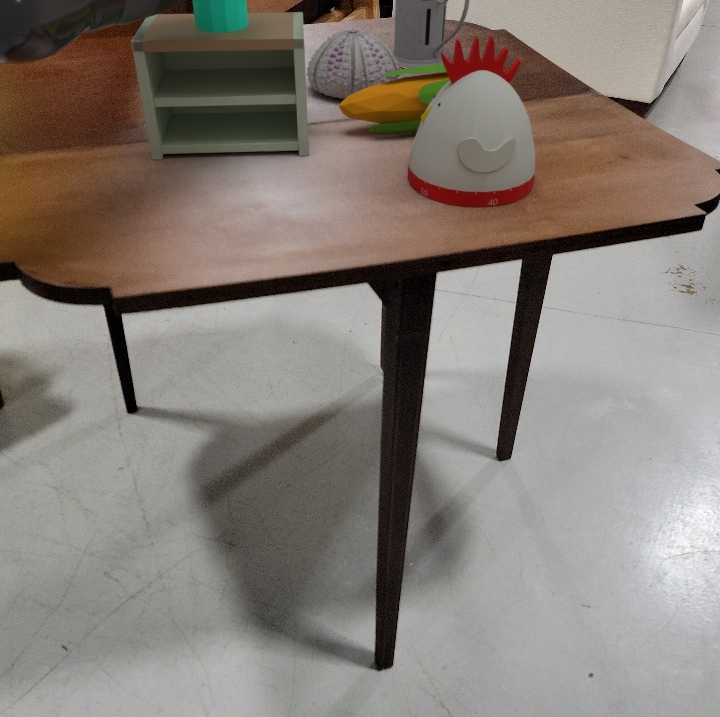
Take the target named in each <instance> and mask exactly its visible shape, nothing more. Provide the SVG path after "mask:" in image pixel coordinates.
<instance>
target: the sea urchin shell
mask: <svg viewBox="0 0 720 717" xmlns="http://www.w3.org/2000/svg"><path fill="white" fill-rule="evenodd" d="M398 64H399V63H398V62H397V60H396V58H395V57H394V51H393V52H392V50H391V47H390V46H388V45H387V44H386V42H385V41H383V40H381V39H380V37H377V36H375V35H374V34H372V33H370V32H368V31H364V30H359V29H350V30H341V31H338V32H336V33H335V34H334V33H333V34H332V35H331V36H330V37H329V36H328V37H327V39H326V40H325V41H324V42H322V44H320V47H318V49H316V50H315V52H314V54H313V55H312V56H311V59H310V60H309V61H308V66H307V67H306V77H307V81H308V82H309V86H310V87H312V88H313V90H314V91H317V92H318V93H319V94H324V96H327V97H328V96H329V97H331V98H338V99H340V100H344V99H345V98H346V97H347V96H349V95H351V94H353V93H356V92H358V91H360V90H362V89H365V88H367V87H369V86H373V85H377V84H381V83H385V82H388V81H392V80H396V79H399V77H400V76H401V75H395V76H383V75H382V74H385V73H389V72H393V71H396V70H400V69H401V68H399V67H398Z"/></svg>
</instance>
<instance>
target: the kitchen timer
mask: <svg viewBox="0 0 720 717" xmlns="http://www.w3.org/2000/svg"><path fill="white" fill-rule="evenodd" d="M508 55H509V49H508V47H506V46H504V47H503V48H502V49H501V50H500V52H499V54H497V57H495V39H494V37H493V36H492V35H489V37H488V39H487V42H486V46H485V49H484V52H483V55H482V57H481V55H480V40H479V37H478V36H477V35H475V36H474V38H473V41H472V45H471V47H470V52H469V55H468V58H466V59H465V55H464V52H463V47H462V44H461V41H460V40H459V38H456V39H455V42H454V51H453V59H452V60H450V61H449V60H448V58H447V57H446V56H445V54H444V52H443V53H442V52H441V58H442V61H443V64H444V67H445V69H446V71H447V74H448V76H449V79H450V81H449V82H448V83H447V84H446V85H445V86H443V87H442V89H441V90H440V91H439V92H438V93H437V94H436V95H435V96H434V98H433V100H432V101H431V103H430V104H429V106H428V107H427V109H426V111H425V113H424V114H423V115H422V116H421V117H420V118H421V123H420V125H419V128H418V131H417V133H415V137H414V140H413V142H412V145H411V148H410V152H409V156H408V162H407V163H408V165H407V181H408V183H409V186H410V187H411V188H412V189H413V190H414V191H416V193H418V194H419V195H422V196H424V197H426V198H428V199H429V200H433V201H435V202H440V203H443V204H446V205H452V206H459V207H468V208H469V207H470V208H472V207H474V208H487V207H496V206H503V205H508V204H510V203H514V202H517V201H519V200H521V199H523V198H525V197H527V196H528V195H529V193H531V191H532V190H533V187H534V181H535V175H536V150H535V149H536V148H535V142H534V136H533V131H532V130H533V129H532V125H531V124H532V123H531V121H530V117H529V113H528V112H527V109H526V107H525V105H524V102H523V101H522V99H521V97H520V96H519V94H518V93H517V91H516V90H515V88H514V87H513V86H512V85H511V82H512V81H513V79H514V77H515V76H516V74H517V72H518V70H519V69H520V68H519V67H520V65H521V60H520V58H516V60H514V61H513V63H512V64H511V66H510V67H509V68H508V69H507V70H505V71H504V66H505V63H506V60H507V57H508Z"/></svg>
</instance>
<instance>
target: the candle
mask: <svg viewBox="0 0 720 717" xmlns="http://www.w3.org/2000/svg"><path fill="white" fill-rule="evenodd" d="M192 8H193V14H194V17H195V25H196V28H197V29H199V30H201V31H207V32H232V31H238V30H242V29H244V28H247V27H248V13H249V12H248V2H247V0H192Z"/></svg>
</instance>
